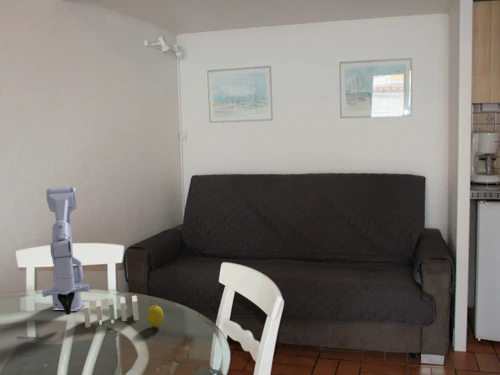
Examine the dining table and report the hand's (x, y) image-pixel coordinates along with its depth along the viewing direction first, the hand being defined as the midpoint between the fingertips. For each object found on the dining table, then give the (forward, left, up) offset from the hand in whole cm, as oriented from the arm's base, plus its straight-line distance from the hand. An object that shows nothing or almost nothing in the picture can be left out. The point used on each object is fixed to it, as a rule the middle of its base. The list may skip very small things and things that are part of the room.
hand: (68, 313), depth 179 cm
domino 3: (+13, +6, -5) cm, 15 cm away
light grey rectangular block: (+5, +3, -5) cm, 8 cm away
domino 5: (+20, +9, -5) cm, 23 cm away
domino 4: (+16, +7, -5) cm, 19 cm away
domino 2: (+9, +4, -5) cm, 11 cm away
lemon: (+29, +3, -5) cm, 30 cm away
